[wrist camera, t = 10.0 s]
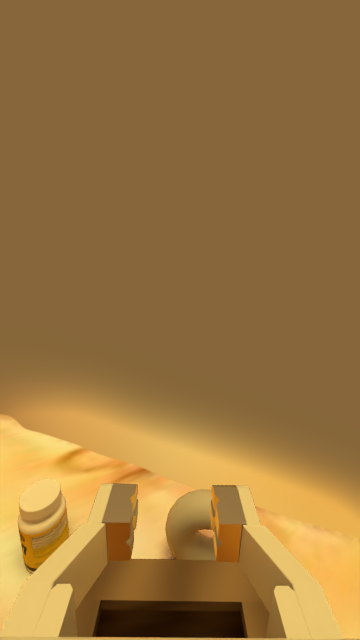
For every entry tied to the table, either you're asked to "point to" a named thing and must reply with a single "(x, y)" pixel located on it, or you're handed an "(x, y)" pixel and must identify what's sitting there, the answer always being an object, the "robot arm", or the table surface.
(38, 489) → the supplement bottle
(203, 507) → the donut
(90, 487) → the table surface
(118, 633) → the box
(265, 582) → the robot arm
